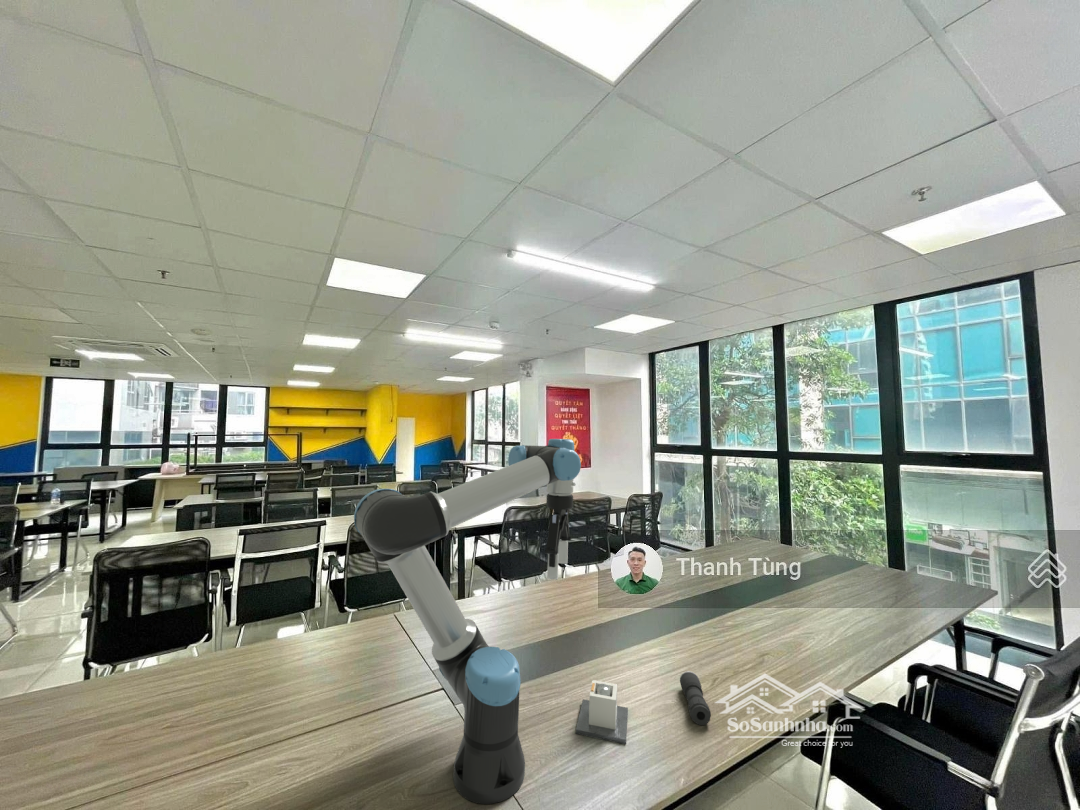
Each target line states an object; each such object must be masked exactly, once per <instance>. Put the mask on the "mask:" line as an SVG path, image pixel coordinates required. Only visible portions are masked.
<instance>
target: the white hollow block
mask: <svg viewBox="0 0 1080 810" xmlns="http://www.w3.org/2000/svg"><path fill="white" fill-rule="evenodd" d="M599 684H606V685H608V686H609V687H610V696H604V695H599V694H597V686H598V685H599ZM588 697H589V698H588V700H589V724H590V725H595V726H600V727H605V728H610V729H615V728H616V717H617V706H618V684H617V683H613V682H608V681H607V682H606V681H600V680H595V679H592V681H591V686H590V691H589V696H588Z"/></svg>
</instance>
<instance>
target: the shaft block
mask: <svg viewBox="0 0 1080 810" xmlns="http://www.w3.org/2000/svg"><path fill="white" fill-rule="evenodd" d="M597 694H599V695H604V696H610V687H609V686H608V685H606V684H599V685H598V686H597ZM579 711H580V712H579V715H578V719H577V724H576V728H575V734H576V735H582V736H584V735H585V737H591V738H594V739H599V740H603V741H604V740H605V741H608V742H609V741H610V742H614V743H619V744H624V745H627V737H628V736H627V735H628V717H629V715H628V714H629V707H625V706H620V705H617V717H616V728H615V729H610V728H605V727H600V726H595V725H590V724H589V699H583V698H582V702H581V707H580V710H579Z"/></svg>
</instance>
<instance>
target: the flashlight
mask: <svg viewBox="0 0 1080 810" xmlns="http://www.w3.org/2000/svg"><path fill="white" fill-rule="evenodd" d="M679 676H680V677H679V683H680V686H681V690H682V692H683V694H684V697H685V699H686V701H687V705H688V706H687V709H688V712H689V716H690V719H691V720H692V721H693V723H695V724H697V726H698V725H699V726H706V725H708V724H709V722H710V721H711V717H712V713H711V710H710V706H709V705H708V703H707V702H706V700H705V698H704V691H703V688H702V685H701V682H700V678H699V677H698V675H697V674H696V673H695V672H694V671H691V670H690V671H689V670H685V671H684V672H682V673H681V675H679Z"/></svg>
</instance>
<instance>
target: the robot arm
mask: <svg viewBox="0 0 1080 810" xmlns="http://www.w3.org/2000/svg"><path fill="white" fill-rule="evenodd" d="M507 460H508V461H507V462H508V465H507V466H505V467H502V468H500V469H497V470H494V471H492V472H489V473H486V474H485V475H484V474H483V475H482V476H480V477H477V478H474V479H472V480H469V481H466V482H464V483H461V484H459V485H456V486H454V487H452V488H449V489H447V490H443V491H442V492H438V493H436V492H433V491H429V492H425V493H422V494H420V495H414V496H405V495H404V494H402V493H401V492H400V491H398V490H396V489H391V488H379V489H378V488H377V489H374V490H372V491H370V492H368V493H367V494H365V495H364V496H363V497H362V498H361V499H359V501H358V503H357V505H356V507H355V510H354V513H353V520H354V522H353V524H354V527H355V529H356V531H357V532H358V533H359V535H361V537H362V538H363V540H364V541H365V543H366V545H367V547H368V548H369V550H370V552H371V553H372V555H373V557H374V558H375V560H376V562H378V564H387V565H388V567H389V569H390V570H391V572H392V573H393V576H394V577H395V579H396V581H397V583H398V584H399V586H400V588H401V589H402V591H403V593H404V594H405V596H406V598H407V600H408V601H409V603H410V606H412V608H413V610H414V612H415V613H416V615H417V617H418V618H419V620H420V622H421V623H422V625H423V627H424V630H425V631H426V632H427V634H428V636H429V638H430V639H431V641H432V643H433V644H432V648H431V654H432V657H433V659H434V660H435V663H436V664H437V666H438V669H439V671H440V674H441V675H442V677H444V678H443V679H445V680H446V681H447V682H448V684H449V685H450V687H451V688H452V690H453V692H454V693H455V695H456V696H457V698H458V699H459V701H460V702H461V704H462V705H463V709H464V714H463V715H464V717H463V736H462V739H461V741H460V744H459V747H458V750H457V752H456V756H455V759H454V764H453V775H452V776H453V777H452V778H453V784H454V787H455V789H456V791H457V792H458V793H459V794H460V795H461V796H462V797H463V798H464V799H466V800H468V801H470V802H472V803H476V804H481V805H490V804H496V803H500V802H503V801H505V800H507V799H509V798H511V797H512V796H514V794H516V793H517V792H518V791H519V789H520V788H521V787H522V784H523V782H524V779H525V774H526V769H525V768H526V760H525V759H526V758H525V755H524V752H523V748H522V744H521V740H520V736H519V713H520V712H519V711H520V689H521V674H520V673H521V672H520V671H521V670H520V664H519V662H518V659H517V658H516V657H515V656H514V654H513V653H511V652H510V651H509V650H507V649H505V648H503V649H501V648H500V647H499V646H489V644H488V643H487V642H486V640H485V639H484V636H483V634H482V633H481V631H480V630H479V628H478V626H477V624H476V622H475V621H474V620H472V619H470V618H465V616H464V613H463V612H462V610H461V609H460V606H459V605H458V603H457V602H456V599H455V598H454V596H453V594H452V592H451V591H450V589H449V586H448V585H447V583H446V581H445V579H444V578H443V576H442V574H441V573H440V570H439V569H438V567H437V565H436V564H435V562H434V559H433V557H432V556H431V555H430V553H429V550H428V549H427V547H426V546H427V545H429V544H430V543H433V542H435V541H437V540H440V539H442V538H444V537H446V536H447V535H448V534H449V531H450V530H451V529H452V528H454V527H456V526H459V525H460V524H463V523H465V522H468V521H469V520H472V519H475V518H476V517H478V516H481V515H483V514H485V513H487V512H489V511H492V510H494V509H497V508H498V507H501V506H503V505H505V504H507V503H509V502H512V501H514V500H517V499H519V498H521V497H523V496H525V495H528V494H529V493H531V492H532V493H533V492H535V491H536V490H538V489H542V488H543V487H545V486H546V492H547V494H546V503H545V505H546V507H547V508H548V509H552V511H553V512H552V514H550V515H549V524H548V525H549V526H548V533H547V542H546V549H544V554H546V555H547V571H546V572H547V574H546V575H547V576H546V578H547V579H550V580H558V579H559V564H561V565H568V559H569V557H568V555H569V553H568V552H569V549H568V548H569V541H571V538H572V537H571V534H570V525H569V510H571V509H573V508H574V495H573V493H574V487H575V486H576V482H574V479H576V478H577V476H579V473H580V472H581V468H582V467H581V466H582V463H581V459H580V455H579V454H578V453H577V451H575V441H573V439H569V438H550V439H548V441H547V445H525V444H522V445H515V446H513V447H511V448H510V450H509V452H508V458H507Z"/></svg>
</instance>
